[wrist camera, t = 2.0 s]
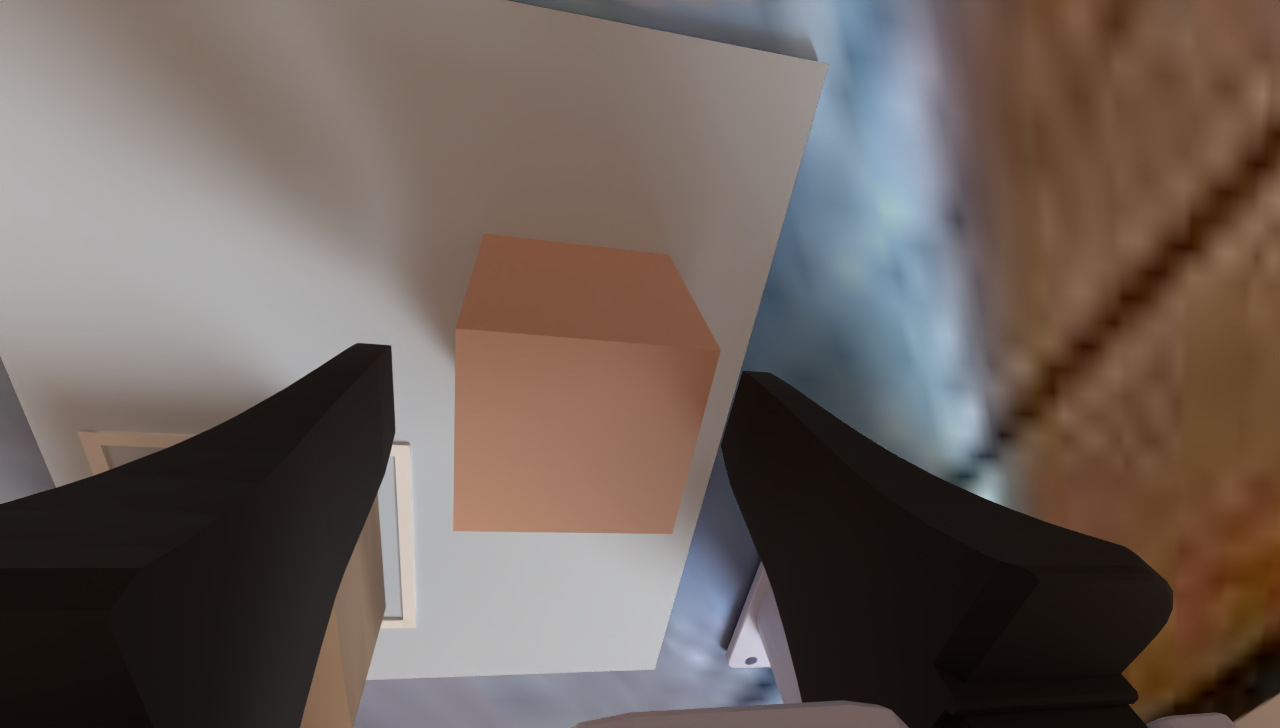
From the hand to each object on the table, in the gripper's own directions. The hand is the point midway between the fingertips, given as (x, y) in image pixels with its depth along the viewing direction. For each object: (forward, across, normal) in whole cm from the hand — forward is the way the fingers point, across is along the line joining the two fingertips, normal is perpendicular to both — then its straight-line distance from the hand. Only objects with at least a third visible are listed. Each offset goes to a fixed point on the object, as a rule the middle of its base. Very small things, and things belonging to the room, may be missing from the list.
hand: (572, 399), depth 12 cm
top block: (+4, 0, 0) cm, 4 cm away
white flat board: (+4, +4, +4) cm, 7 cm away
